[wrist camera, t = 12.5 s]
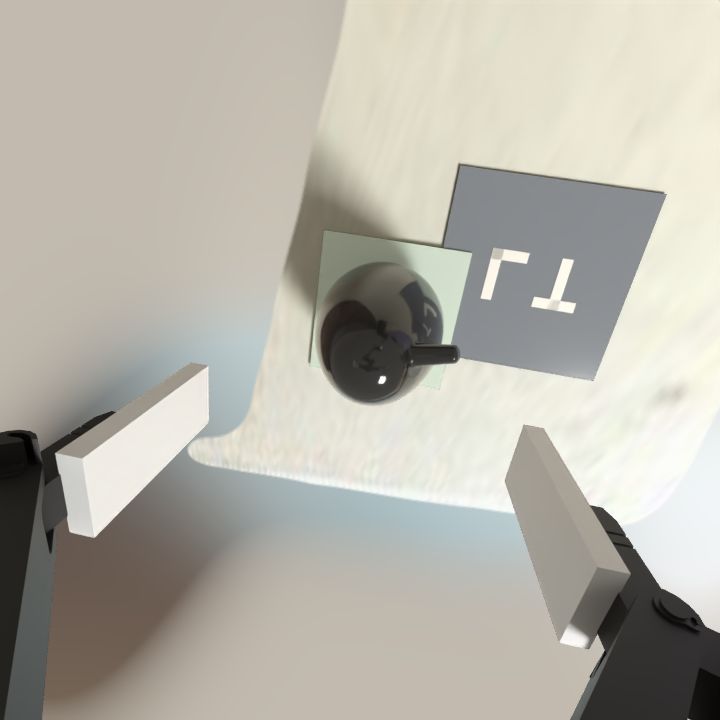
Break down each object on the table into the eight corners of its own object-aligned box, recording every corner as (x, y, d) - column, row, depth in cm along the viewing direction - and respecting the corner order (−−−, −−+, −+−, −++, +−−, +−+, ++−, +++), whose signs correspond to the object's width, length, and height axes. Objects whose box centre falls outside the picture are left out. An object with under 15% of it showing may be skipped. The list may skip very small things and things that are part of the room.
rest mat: (324, 230, 34) (323, 230, 34) (471, 252, 33) (472, 253, 33) (310, 364, 39) (309, 366, 38) (439, 387, 38) (439, 389, 38)
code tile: (460, 165, 31) (460, 165, 31) (665, 194, 30) (667, 194, 30) (421, 350, 37) (421, 351, 37) (592, 380, 36) (593, 381, 36)
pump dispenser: (449, 355, 36) (474, 443, 22) (343, 372, 38) (303, 463, 24) (433, 245, 33) (449, 264, 19) (318, 270, 35) (255, 304, 21)
